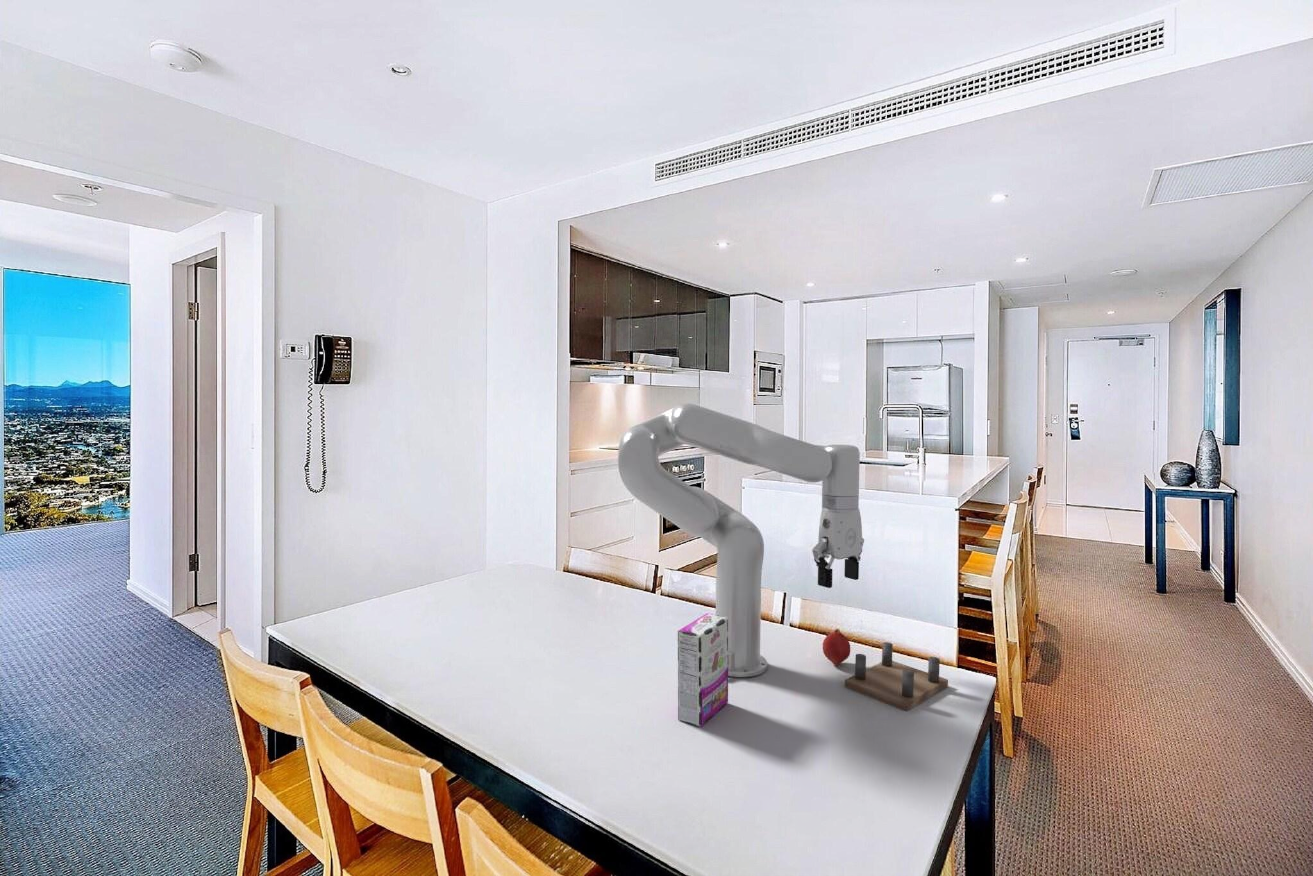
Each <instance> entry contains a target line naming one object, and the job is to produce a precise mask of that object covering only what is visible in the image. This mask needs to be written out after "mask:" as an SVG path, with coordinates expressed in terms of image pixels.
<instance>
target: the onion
mask: <svg viewBox="0 0 1313 876" xmlns="http://www.w3.org/2000/svg"><path fill="white" fill-rule="evenodd" d="M822 652H823V654H824V656H825V657H826V659H828V660H829V661H830V662H831V664H833V665H834V666H839V665H840V664H842V663H843V662H844V661H845V660H847V659H848V658H849V657H850V654H851V643H850V641H849V639H848V638H847V637H846V636H845V635H844V634H843V633H842V632H841V631H840V629H839V628H835V630H833V631H832V632H830V633H828V635H827V636H825V638H824V639H823V642H822Z"/></svg>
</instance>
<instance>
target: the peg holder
mask: <svg viewBox="0 0 1313 876" xmlns="http://www.w3.org/2000/svg"><path fill="white" fill-rule="evenodd" d="M881 649H882V652H881V662H879V663H877V664H875V665H873V666H871V667H869V668H867V656H866V655H865V654H863V653H856V654H855V661H854V662H855V663H854V675H851V676H850V677H848V678H845V679H844V687H845V688H847V689H849V688H850V689H849V690H851V689H852V690H851V691H854V692H857V693H859V694H862V695H865V696H867V695H868V696H867V697H869V696H870V698H872V697H873V698H872V699H874V698H875V699H874V700H877V699H878V701H879V702H882V701H883V702H882V703H885V704H888V705H890V706H892V707H896V708H898V709H901V710H902V711H905V712H908V711H909V710H911V709H913V708H914V706H915V707H916V706H918V705H919V704H921V703H923V702H924V701H926V700H928V699H930V698H931V696H932V697H933V696H934V695H936V694H938V693H940V692H942V691H943V690H945V689H948V687H949V679H948V678H944V677H941V676H940V666H941V665H940V660H941V659H940V658H939V657H936V656H929V657H928V667H927V668H928V671H924V670H921V669H918V668H915V667H912V666H909V665H906V664H903V663H899V662H897V661H894V660H893V643H891V642H889V641H888V642H887V641H884V642H882V647H881ZM866 668H867V669H866ZM929 697H930V698H929ZM917 704H918V705H917Z"/></svg>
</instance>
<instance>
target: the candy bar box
mask: <svg viewBox="0 0 1313 876" xmlns="http://www.w3.org/2000/svg"><path fill="white" fill-rule="evenodd" d="M728 703H729V676H728V617H723V616H719V615H716V614H713V613H705V614H703V615H701V616H700V617H699V618H697V619H695V620H694V621H692V622H690V623H689V624H687V625H685V626H683V627H681V628H680V629H679V630H677V709H678V710H677V714H678V716H677V717H678V719H677V720H678V721H680V722H682V723H685V724H688V725H693V726H695V727H696V726H697V727H699V728H701V727H703V726H704V725H705V724H706V723H707V722H708V721H709V720H710V719H712V718H713V716H715V715H716V714H717V713H718V712H719V711H720V710H721V709H722V708H723V707H725V706H726V704H728Z"/></svg>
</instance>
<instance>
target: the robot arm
mask: <svg viewBox="0 0 1313 876" xmlns="http://www.w3.org/2000/svg"><path fill="white" fill-rule="evenodd" d="M683 445H687V446H690V447H693V448H696V449H699V450H703V451H706V452H709V453H712V454H715V455H719V456H722V457H725V458H727V459H731V460H733V461H734V460H735V461H737V462H741V463H742V464H746V465H752V466H756V467H760V468H764V469H766V470H770V471H773V472H777V473H780V474H782V475H785V476H788V477H792V478H793V479H798V480H801V481H804V482H807V483H814V484H815V483H819V482H822V483H821V484H822V485H821V486H822V488H821V493H822V494H821V513H820V519H819V527H818V540H817V541H818V542H817V544H816V545H815V546H814V547H813V548H812V549H811V552H812V555H813V559H814V562H815V563H816V564H815V565H816V567H817V585H818V586H820V587H824V588H828V589H832V588H833V568H831V567H832V565H833V563H834V562H835V560H844V577H845V578H846V579H850V580H854V581H858V580H859V579H860V578H859V577H860V575H859V573H860V572H859V570H860V561H861V560H862V559H861V554H862V552H863V546H864V543H865V539H864V537H863V525H862V516H861V511H860V508H859V505H860V504H859V500H860V496H859V495H860V465H861V464H860V462H861V461H860V459H861V458H860V455H861V452H860V450H859V448H858V447H857V446H855V445H852V444H828V445H821V444H819V445H818V444H812V443H810V442H807V441H805V440H804V441H803V440H800V439H797V438H794V437H791V436H788V435H784V434H782V433H779V432H775V431H772V430H770V429H768V428H765V427H763V426H761V425H759V424H756V423H753V422H751V421H747V420H744V419H741V418H738V417H735V416H732V415H728V414H726V413H722V412H719V411H716V410H713V409H710V408H707V407H704V406H700V405H696V404H695V403H694V404H693V403H681V404H678V405H676V406H674V407H672V408H671V409H668V410H665V411H664V412H662V413H661V414H658V415H656V416H654V417H651V418H649V419H647V420H645V421H642V422H640V423H637V424H636V425H633V426H631V427H630V428H627V430H625V431H624V432H623V434H622V436H621V437H620V440H619V445H618V452H617V453H618V455H617V457H618V458H617V461H618V462H617V467H618V472H619V475H620V478H621V481H622V483H623V485H624V486H625V488H626V489H627V490H628V492H629V493H630V494H631V495H632V496H633V497H634V498H635V499H637V500H638V501H639V502H641V503H642V504H644V505H645V506H646V507H648V508H649V509H651V510H653V511H654V512H656V514H658V515H659V516H661V517H663V518H664V519H666V520H667V521H669V522H670V523H672V524H673V525H675V526H677V528H679V529H680V530H682V531H683V532H684V533H685V534H688V535H690V536H695V537H697V536H698V537H699V538H702V539H703V540H704V541H705V542H708V543H709V544H710V545H712V546H714V548H716V551H717V558H716V559H717V560H716V563H717V564H716V575H715V615H719V616H723V617H728V677H733V678H749V677H755V676H760V675H762V674H763V673H764V672H766V671H767V669H768V661H767V659H766V658H765V656H763V655H761V615H762V576H763V575H762V573H763V563H764V556H765V543H764V542H765V541H764V538H763V535H762V533H761V530H760V529H759V528H758V526H757V525H756V524H754V523H753V521H751V520H750V519H749V518H748V517H746V515H744V514H743V513H741V512H740V511H738V510H736V509H735V508H733V507H732V506H730V505H728V504H727V503H725V502H724V501H722V500H721V499H719V498H718V497H716V496H714V495H713V494H711V493H710V492H708V491H707V490H705V489H704V488H701V487H697V486H691V485H689V484H688V483H686V482H684V481H683V480H682V479H680V478H679V477H678V476H676V475H675V474H673V473H671V472H670V471H668V470H666V468H664V467H663V466H662V465H661V462H660V460H659V457H660V456H662V455H665V454H667V453H669V452H671V451H673V450H676V449H677V448H679V447H681V446H683ZM826 559H827V560H826Z"/></svg>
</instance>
